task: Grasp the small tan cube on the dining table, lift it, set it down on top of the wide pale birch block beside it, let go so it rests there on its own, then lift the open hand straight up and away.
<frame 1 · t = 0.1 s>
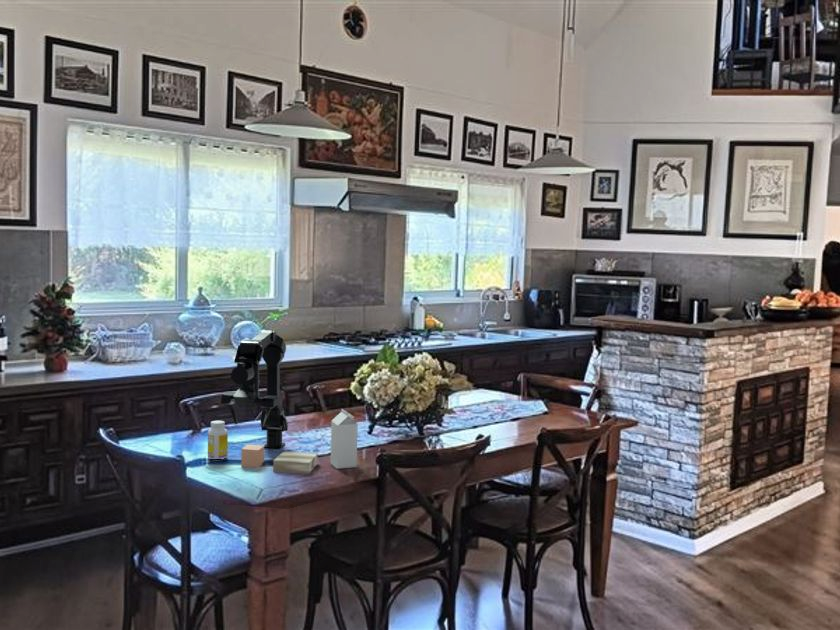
hand: (249, 425, 270), 14 cm above the table, tool pointing down, fingers open, 9 cm apart
milk carton: (343, 466, 278), on the table
birch block: (295, 468, 274), on the table
supplement bottle: (217, 458, 281), on the table
tan cube: (252, 464, 276), on the table
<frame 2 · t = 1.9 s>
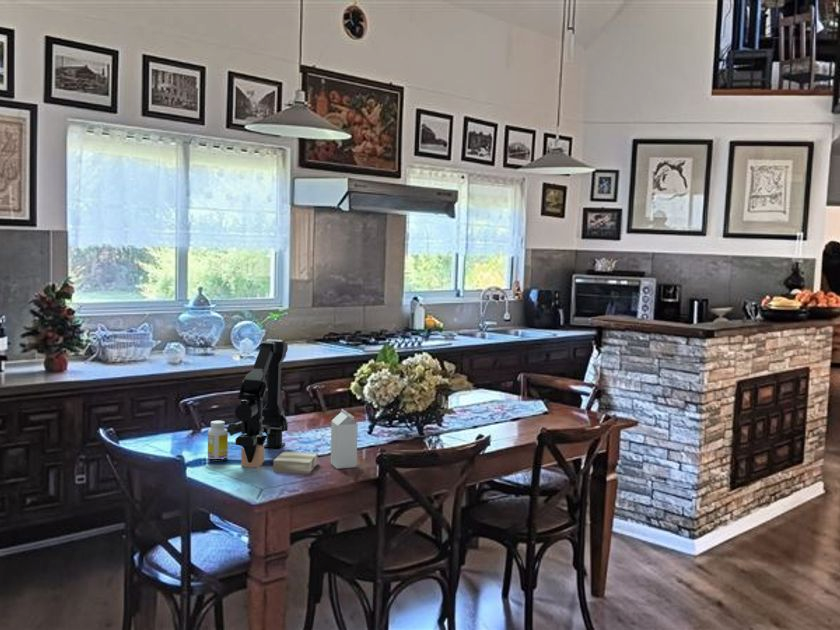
hand: (252, 459, 275), 2 cm above the table, tool pointing down, fingers closed on tan cube, 6 cm apart
tan cube: (252, 464, 276), on the table, touching gripper
everything else where it was.
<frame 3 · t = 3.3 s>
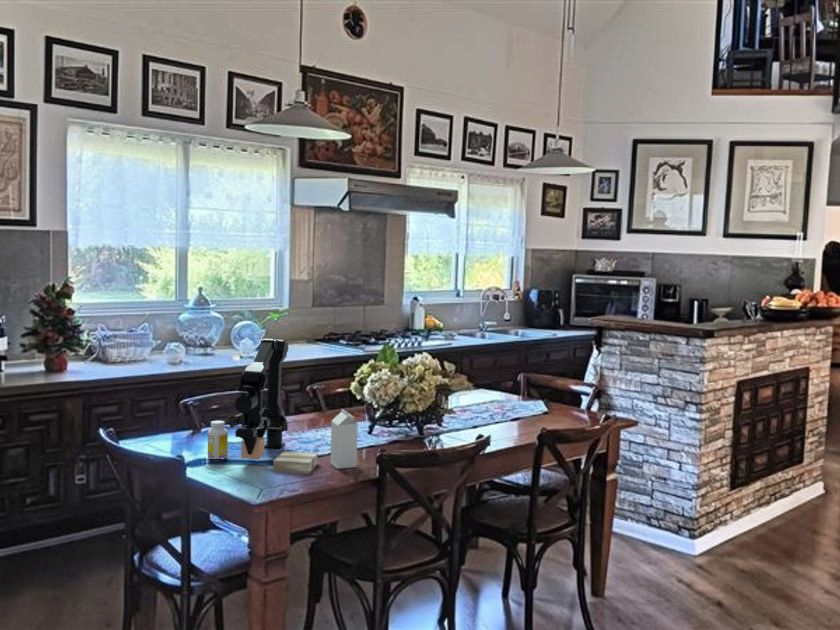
hand: (252, 452, 275), 4 cm above the table, tool pointing down, fingers closed on tan cube, 6 cm apart
tan cube: (252, 456, 275), point 3 cm above the table, touching gripper
everything else where it was.
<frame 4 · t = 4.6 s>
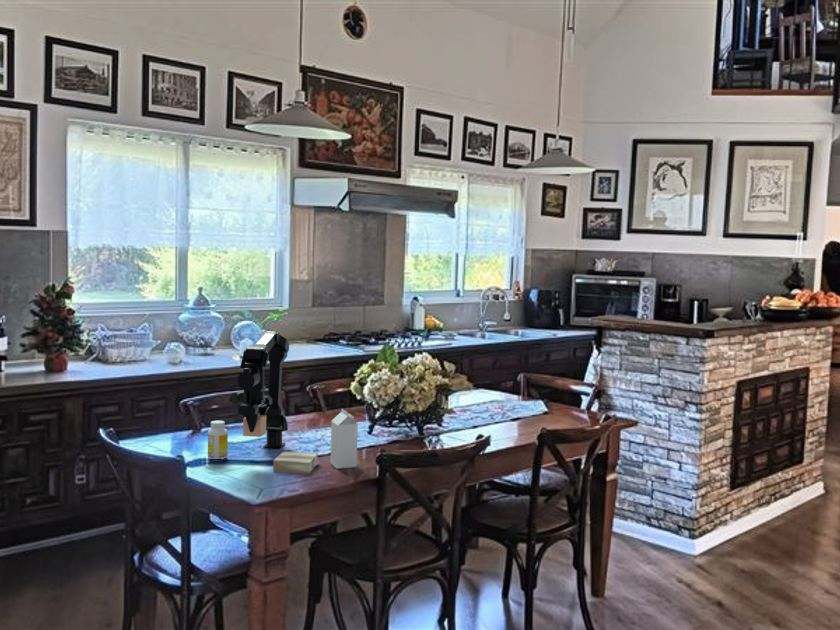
hand: (254, 429, 274), 12 cm above the table, tool pointing down, fingers closed on tan cube, 6 cm apart
tan cube: (254, 434, 274), point 10 cm above the table, touching gripper
everything else where it was.
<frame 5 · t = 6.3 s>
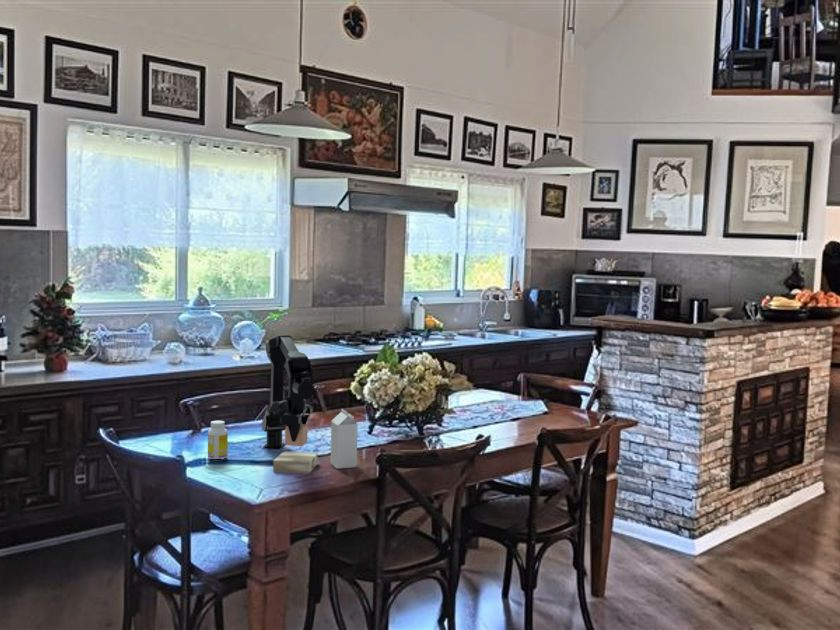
hand: (296, 438, 273), 10 cm above the table, tool pointing down, fingers closed on tan cube, 6 cm apart
tan cube: (296, 443, 273), point 8 cm above the table, touching gripper
everything else where it was.
when the fingers open (6 cm above the table, at t = 7.4 s): tan cube drops 1 cm, resting on birch block.
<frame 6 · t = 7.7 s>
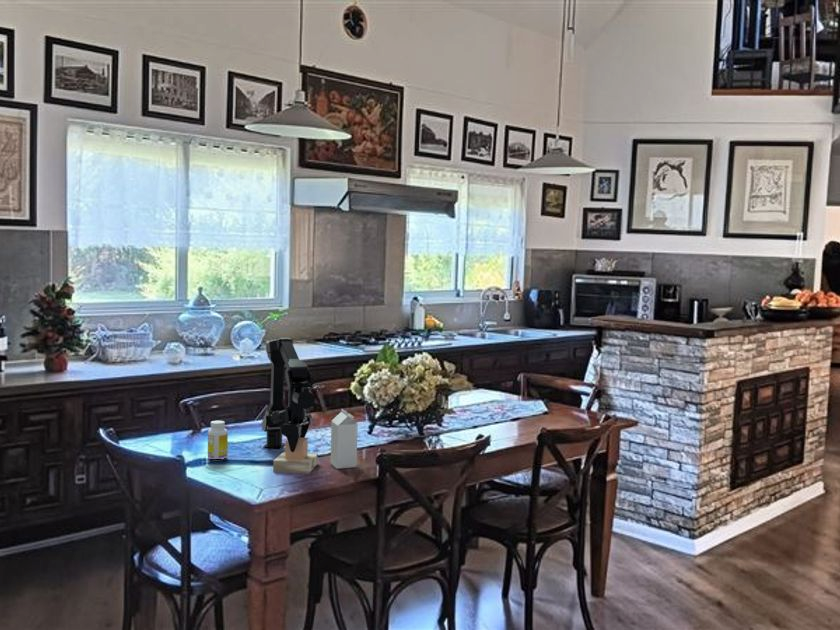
hand: (296, 448, 273), 6 cm above the table, tool pointing down, fingers open, 9 cm apart
birch block: (295, 468, 274), on the table, touching tan cube
tan cube: (296, 457, 274), point 4 cm above the table, touching birch block
everything else where it was.
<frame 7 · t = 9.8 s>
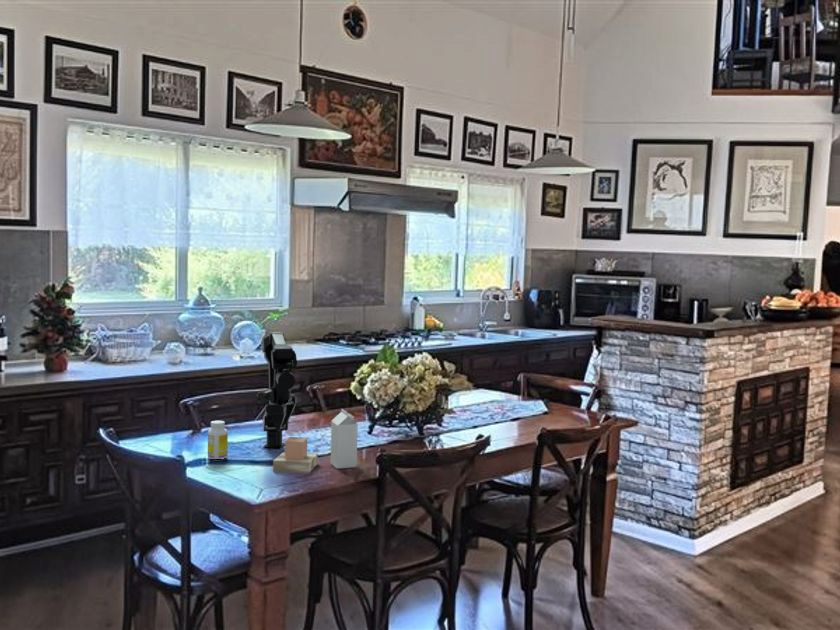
hand: (281, 427, 280), 12 cm above the table, tool pointing down, fingers open, 9 cm apart
birch block: (295, 468, 274), on the table
tan cube: (296, 457, 273), point 4 cm above the table
everything else where it was.
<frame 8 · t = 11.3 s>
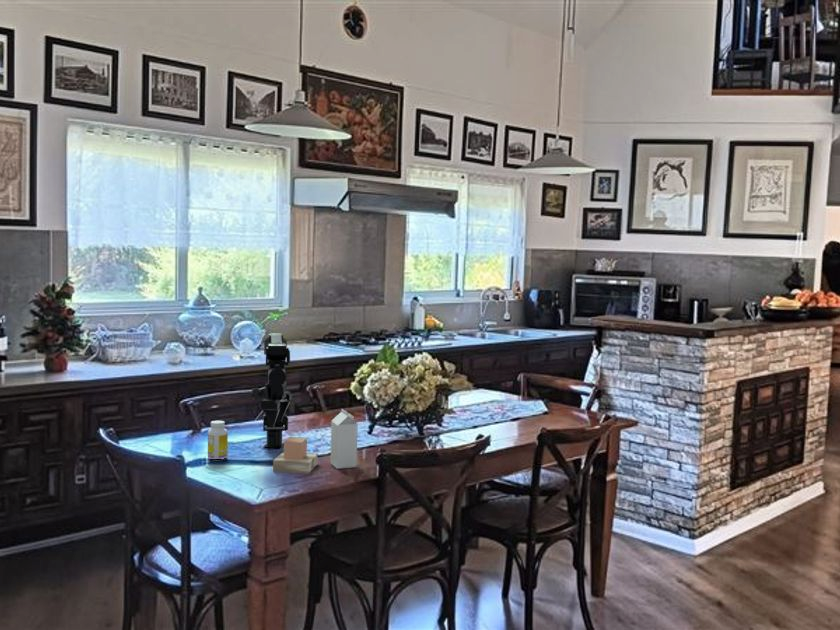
hand: (275, 424, 283), 12 cm above the table, tool pointing down, fingers open, 9 cm apart
birch block: (295, 468, 274), on the table, touching tan cube
tan cube: (295, 457, 274), point 3 cm above the table, touching birch block
everything else where it was.
at the end: tan cube inside the target area on the birch block (0.3 cm from its centre), point 4.0 cm above the birch block's base; tan cube tilted 0°; the gripper is holding nothing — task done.
